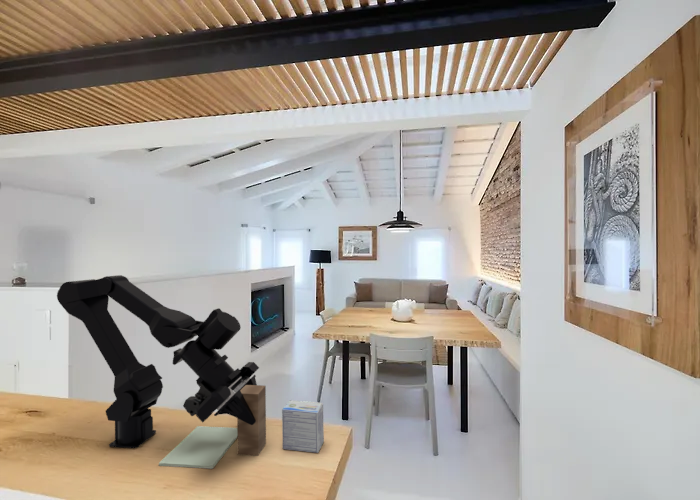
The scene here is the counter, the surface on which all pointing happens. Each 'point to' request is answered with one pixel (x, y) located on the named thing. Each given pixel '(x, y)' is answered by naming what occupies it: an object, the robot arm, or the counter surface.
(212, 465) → the rubber mat
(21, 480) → the counter surface
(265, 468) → the counter surface
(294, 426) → the medicine box
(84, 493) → the counter surface
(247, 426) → the walnut block
